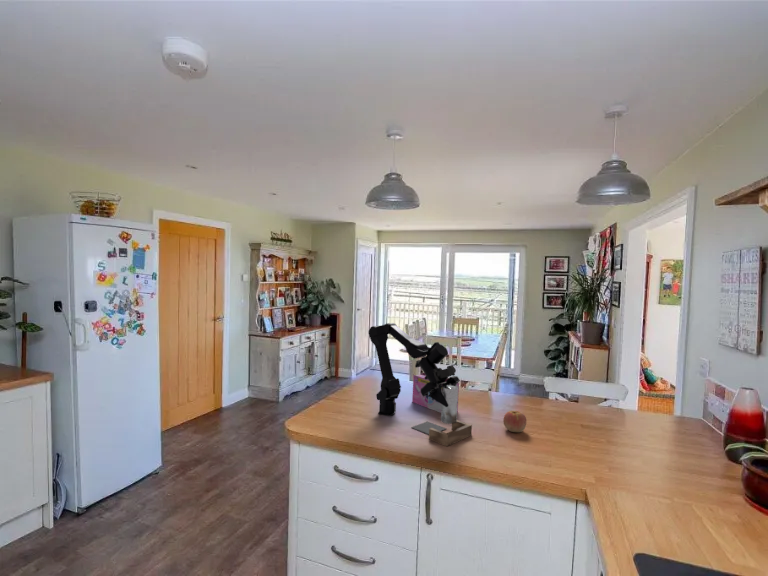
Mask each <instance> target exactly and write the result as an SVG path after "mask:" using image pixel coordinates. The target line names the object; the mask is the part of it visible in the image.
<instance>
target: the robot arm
mask: <svg viewBox="0 0 768 576" xmlns="http://www.w3.org/2000/svg"><path fill="white" fill-rule="evenodd" d="M389 335H390V336H392V338H394V339H395V340H396V341H397V342H399V344H401V345H402V346H403V347H404V348H405V350H406V352H407V354H408V355H409V356H410V358H412V359H414V360H415V359H419V360H415V362H416V363H415V366H414V367H415V368H420V369H421V370H422V371H423V372H422V373H425V375H426V376H425V377H424V378H425V379H428V380H429V383H427V384H426V385H425V386H424V387H422V388H421V394H422V396H427V395H428V392H429V393H430V394H429V395H428V397H431V398H433V399H434V400H436V401H438V402H439V403H441V404H442V405H444V406H445V407H448V403H447V401H446V399H445V398H444V396H443V394H442V386H445V385H451V386H456V385H457V383H460V382H461V380H460V378H459V377H458V376H457V375H456V371H457V369H456V368H455V366H453V365H447V367H446V368H445V369H442V368H441V367H438V366H437V365H438V364H440V363H441V362H442V361H443V360H444V359H445V358H446V357H447V356H448V355H449V350H448V349H447V348H446V347H445V346H444V345H443V344H440V343H439V341H437V342H434V343H433V344H432V346H428V345H427V344H426V343H424V342H423V341H420V340H418V339H414V338H413V337H412V336H411V335H409V334H408V333H406V332H405V330H403V329H401V327H399V326H398V325H397V324H396V323H395V322H387V323H385V324H382V325H373V326H371V327H369V330H368V337H369V339H370V342H371V343H372V345H374V346H375V351H376V354H377V360H378V363H379V368H380V374H381V377H382V379H381V381H380V390H379V391H378V392H377V393H376V394H375V395H376V400H377V401H379V405H378V406H379V409H378V410H379V411H378V412H377V413H378V415H384V416H393V415H394V414H395V413H396V411H397V403H396V399H398V398H399V395H400V393H401V391H402V390H401V388H402V386H401V383H400V379H399V378H396V377H395V375H394V373H393V369H392V368H393V367H392V365H391V364H392V363H391V358H390V355H389V350H388V346H387V342H388V339H389ZM445 380H446V381H445ZM457 403H458V404H459V401H458V402H457Z"/></svg>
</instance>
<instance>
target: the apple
mask: <svg viewBox="0 0 768 576" xmlns="http://www.w3.org/2000/svg"><path fill="white" fill-rule="evenodd" d="M502 422H503V425H504V427H505V429H506V430H508V431H509V432H511V433H522V432H524V430H525V429H526V427H527V416H526V415H525V414H524V413H523V412H522V411H519V410H509V411H507V412H506V413H505V414H504V416H503V421H502Z"/></svg>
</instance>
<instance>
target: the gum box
mask: <svg viewBox="0 0 768 576" xmlns="http://www.w3.org/2000/svg"><path fill="white" fill-rule="evenodd" d="M412 375H413V377H412V379H413V380H412V400H411V402H412V403H413V404H416V405H419V406H422V407H424V408H427V409H430V410H432V411H434V412H437V413H440V414H441V406H442V404H441V403H439V402H438V401H436V400H434V399H433V398H431V397H428V395H429V394H430V393H429V392H428V395H427V396H422V394H421V388H422V387H424V386H425V385H426V384H427V383H429V380H428V379H425V378H424V377H425V376H426V375H425V373H424V372H421V373H420V374H416V375H415V374H412ZM445 381H446V380H445ZM456 387H458V395H459V394H460V393H459V392H460V391H459V390H460V389H459V388H460V382H458V383H457V385H456ZM458 411H459V402H458V403H457V413H459V412H458Z"/></svg>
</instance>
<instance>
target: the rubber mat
mask: <svg viewBox="0 0 768 576" xmlns="http://www.w3.org/2000/svg"><path fill="white" fill-rule="evenodd" d="M430 428H434V429H436V430H439V431H442V432H445V431H446V430H447V427H443V426H441V425H437V424H435V423H434V422H433V423H432V422H430V421H425V422H422V423H419V424H416V425H413V426H411V428H410V429H413V430H415V431H418V432H420V433H423V434H425V435H428V436H429V429H430Z"/></svg>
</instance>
